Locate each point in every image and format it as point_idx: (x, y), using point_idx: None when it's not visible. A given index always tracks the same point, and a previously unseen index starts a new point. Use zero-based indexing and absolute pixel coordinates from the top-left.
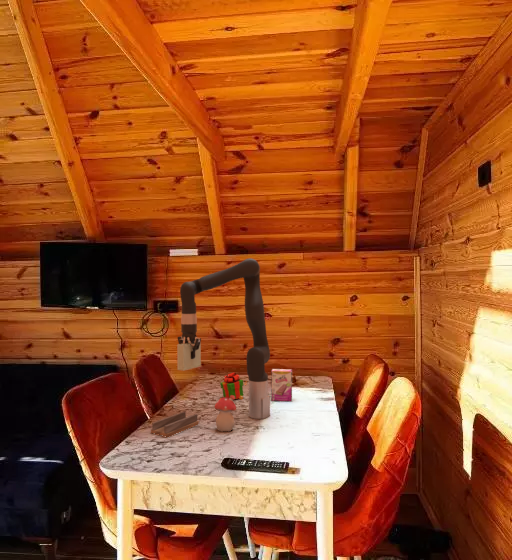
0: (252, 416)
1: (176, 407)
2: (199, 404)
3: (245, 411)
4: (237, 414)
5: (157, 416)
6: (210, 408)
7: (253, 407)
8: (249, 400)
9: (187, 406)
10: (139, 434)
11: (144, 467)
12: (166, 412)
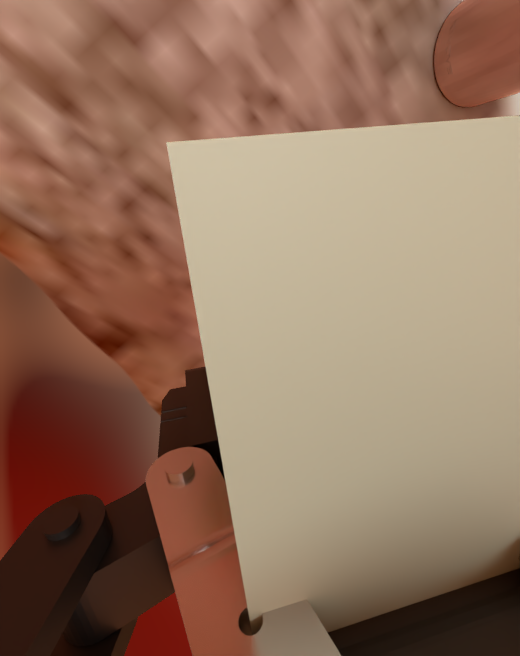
0: (471, 105)
1: (54, 222)
2: (96, 86)
3: (389, 27)
4: (382, 101)
5: (124, 364)
6: (210, 109)
7: (513, 93)
8: (516, 77)
9: (81, 168)
10: None
11: None
12: (99, 307)
